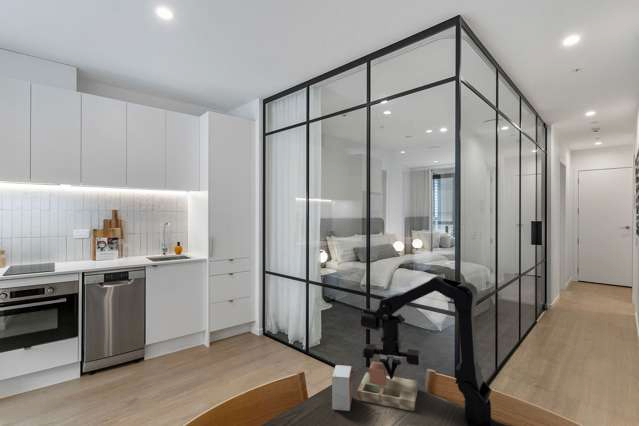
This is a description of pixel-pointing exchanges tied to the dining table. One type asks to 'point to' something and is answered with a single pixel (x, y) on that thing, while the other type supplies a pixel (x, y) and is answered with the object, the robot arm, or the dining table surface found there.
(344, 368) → the small box
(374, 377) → the block
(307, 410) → the dining table surface
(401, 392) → the beige divided tray
